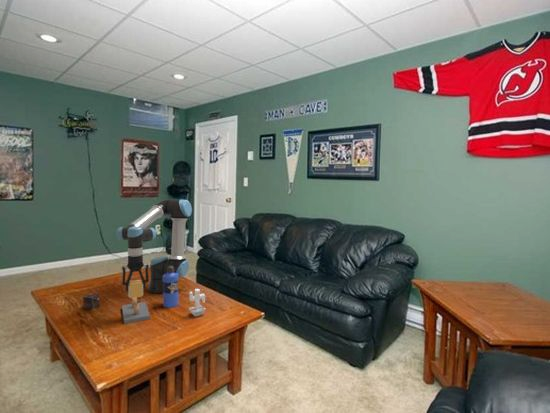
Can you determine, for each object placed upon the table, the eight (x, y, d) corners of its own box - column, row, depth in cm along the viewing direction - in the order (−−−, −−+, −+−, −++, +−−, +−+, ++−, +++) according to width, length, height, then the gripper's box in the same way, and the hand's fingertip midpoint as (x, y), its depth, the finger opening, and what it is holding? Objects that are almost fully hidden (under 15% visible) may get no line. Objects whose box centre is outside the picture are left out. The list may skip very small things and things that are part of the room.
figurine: (207, 314, 178) (207, 289, 176) (192, 318, 172) (192, 292, 170) (202, 310, 183) (202, 286, 182) (187, 314, 177) (187, 289, 176)
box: (91, 309, 181) (91, 297, 180) (83, 308, 182) (82, 296, 181) (99, 305, 187) (99, 294, 186) (91, 304, 188) (90, 293, 187)
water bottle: (181, 304, 190) (181, 265, 188) (167, 309, 184) (167, 268, 182) (173, 300, 197) (173, 262, 195) (160, 304, 190) (159, 265, 188)
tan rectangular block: (141, 293, 175) (140, 279, 174) (142, 296, 169) (141, 282, 169) (129, 294, 172) (129, 281, 171) (130, 298, 167) (130, 284, 166)
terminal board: (145, 304, 189) (145, 292, 189) (150, 319, 170) (149, 305, 170) (122, 308, 183) (121, 295, 182) (124, 323, 164) (123, 309, 163)
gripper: (152, 252, 177) (152, 290, 178) (115, 255, 168) (116, 296, 169) (154, 254, 170) (154, 295, 172) (116, 258, 161) (116, 300, 163)
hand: (135, 295), depth 171 cm, fingers closed on tan rectangular block, 6 cm apart
